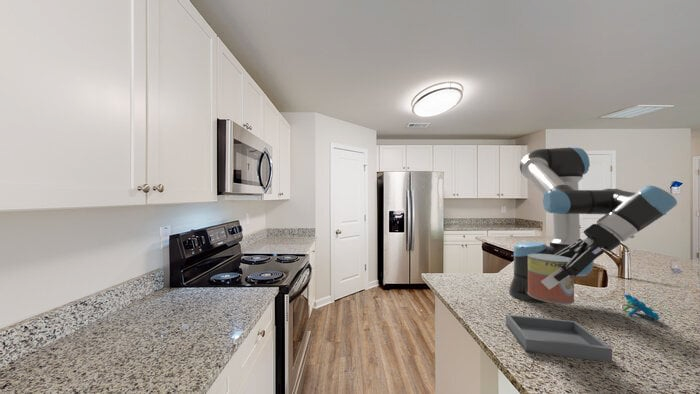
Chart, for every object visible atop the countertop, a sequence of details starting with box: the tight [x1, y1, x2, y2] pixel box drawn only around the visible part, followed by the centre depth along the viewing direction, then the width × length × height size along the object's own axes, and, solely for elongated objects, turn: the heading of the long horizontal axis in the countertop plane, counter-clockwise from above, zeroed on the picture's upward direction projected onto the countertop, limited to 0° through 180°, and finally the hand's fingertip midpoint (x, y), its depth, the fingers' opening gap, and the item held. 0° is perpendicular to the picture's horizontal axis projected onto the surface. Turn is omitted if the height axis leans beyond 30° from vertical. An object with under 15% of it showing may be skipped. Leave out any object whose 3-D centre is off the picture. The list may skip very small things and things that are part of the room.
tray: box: [505, 313, 613, 363], centre depth 79 cm, size 16×20×4 cm
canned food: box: [527, 254, 575, 305], centre depth 79 cm, size 11×11×12 cm
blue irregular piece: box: [622, 293, 660, 320], centre depth 96 cm, size 11×6×10 cm
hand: (540, 280), depth 80 cm, fingers closed on canned food, 11 cm apart
